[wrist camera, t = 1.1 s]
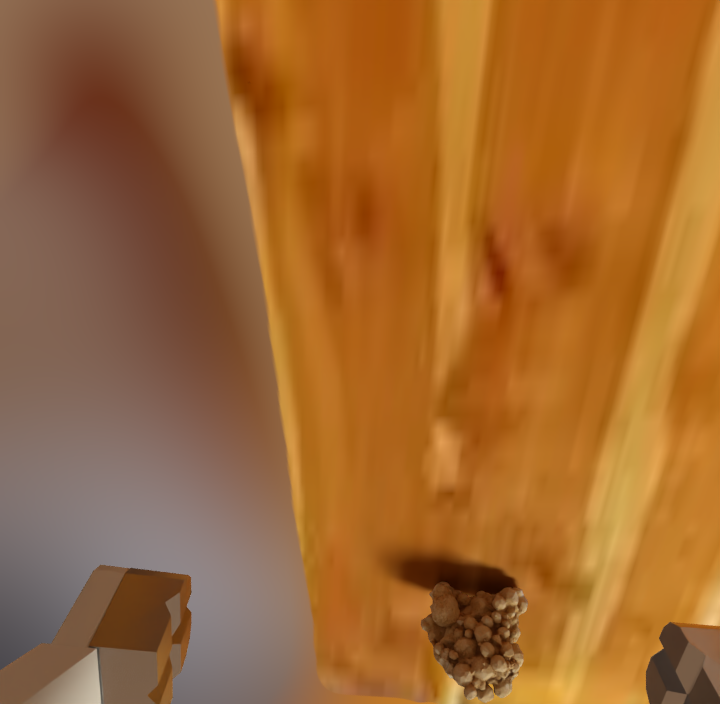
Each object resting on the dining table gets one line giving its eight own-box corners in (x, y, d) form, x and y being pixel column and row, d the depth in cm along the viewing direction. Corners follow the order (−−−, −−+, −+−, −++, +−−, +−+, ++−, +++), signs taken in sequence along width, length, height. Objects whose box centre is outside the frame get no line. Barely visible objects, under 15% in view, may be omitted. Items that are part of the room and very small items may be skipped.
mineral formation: (524, 609, 84) (532, 727, 72) (425, 601, 86) (416, 714, 74) (527, 571, 79) (535, 691, 67) (421, 565, 82) (411, 679, 70)
